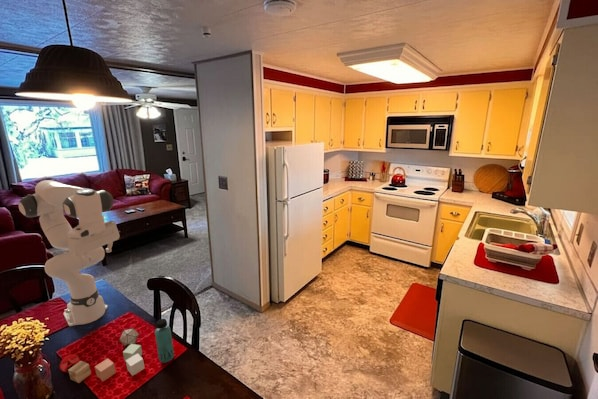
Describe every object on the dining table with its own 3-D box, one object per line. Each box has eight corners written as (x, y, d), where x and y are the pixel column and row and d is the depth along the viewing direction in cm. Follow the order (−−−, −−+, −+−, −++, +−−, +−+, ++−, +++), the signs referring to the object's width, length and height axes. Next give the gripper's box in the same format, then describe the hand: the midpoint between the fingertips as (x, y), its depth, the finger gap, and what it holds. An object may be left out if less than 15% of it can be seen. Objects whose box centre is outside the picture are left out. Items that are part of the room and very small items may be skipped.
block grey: (127, 369, 125) (125, 360, 124) (139, 362, 129) (137, 353, 127) (132, 376, 122) (130, 366, 120) (144, 368, 126) (143, 358, 124)
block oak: (70, 379, 120) (68, 369, 119) (83, 370, 125) (80, 360, 124) (78, 383, 119) (76, 373, 117) (91, 373, 123) (88, 364, 122)
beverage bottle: (159, 367, 126) (153, 328, 120) (158, 357, 131) (152, 319, 126) (175, 362, 129) (170, 323, 123) (174, 352, 134) (168, 314, 129)
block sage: (124, 361, 129) (122, 352, 128) (132, 352, 134) (131, 343, 133) (134, 363, 128) (132, 353, 127) (142, 354, 133) (140, 345, 132)
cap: (84, 359, 126) (78, 347, 129) (68, 365, 121) (63, 352, 123) (76, 371, 128) (70, 359, 130) (60, 377, 123) (55, 365, 125)
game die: (132, 352, 139) (127, 348, 131) (117, 345, 139) (111, 339, 132) (145, 334, 144) (141, 328, 137) (130, 326, 145) (125, 321, 137)
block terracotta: (96, 376, 122) (94, 366, 120) (109, 367, 126) (107, 358, 125) (103, 381, 119) (100, 371, 118) (115, 372, 123) (113, 363, 122)
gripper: (109, 218, 136) (115, 246, 139) (62, 234, 117) (70, 265, 121) (120, 220, 134) (125, 247, 137) (73, 236, 115) (81, 268, 119)
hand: (99, 256), depth 129 cm, fingers open, 8 cm apart
